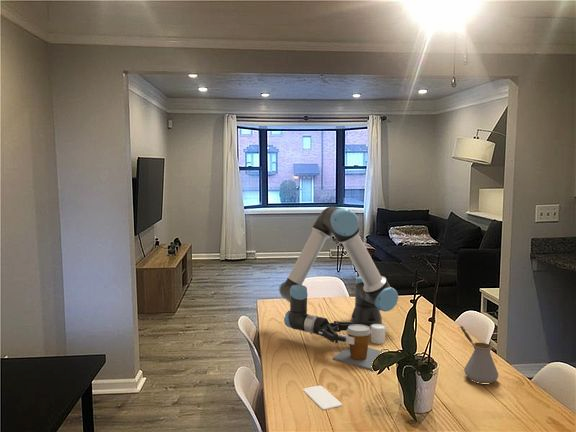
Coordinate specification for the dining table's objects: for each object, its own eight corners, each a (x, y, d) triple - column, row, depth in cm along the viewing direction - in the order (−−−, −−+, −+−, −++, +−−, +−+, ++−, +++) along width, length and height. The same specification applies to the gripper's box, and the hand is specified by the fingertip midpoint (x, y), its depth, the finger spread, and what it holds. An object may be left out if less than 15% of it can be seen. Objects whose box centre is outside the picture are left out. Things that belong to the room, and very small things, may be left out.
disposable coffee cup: (364, 351, 188) (364, 323, 188) (374, 360, 179) (375, 330, 179) (343, 353, 186) (343, 325, 185) (352, 362, 177) (352, 332, 176)
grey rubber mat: (353, 345, 197) (354, 343, 197) (393, 355, 186) (393, 353, 186) (332, 359, 182) (332, 357, 182) (373, 371, 172) (373, 369, 172)
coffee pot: (505, 386, 161) (507, 345, 159) (474, 388, 159) (476, 346, 157) (472, 361, 182) (473, 324, 180) (445, 362, 180) (446, 325, 178)
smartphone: (320, 384, 160) (343, 404, 147) (320, 387, 160) (343, 406, 147) (302, 388, 157) (322, 409, 144) (302, 390, 157) (322, 411, 144)
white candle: (366, 341, 202) (367, 326, 201) (375, 337, 207) (375, 322, 206) (380, 345, 197) (380, 329, 197) (388, 341, 202) (389, 325, 202)
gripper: (331, 325, 207) (374, 336, 194) (300, 342, 186) (346, 355, 174) (331, 309, 206) (375, 318, 194) (300, 324, 186) (347, 335, 173)
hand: (361, 336), depth 184 cm, fingers open, 13 cm apart
